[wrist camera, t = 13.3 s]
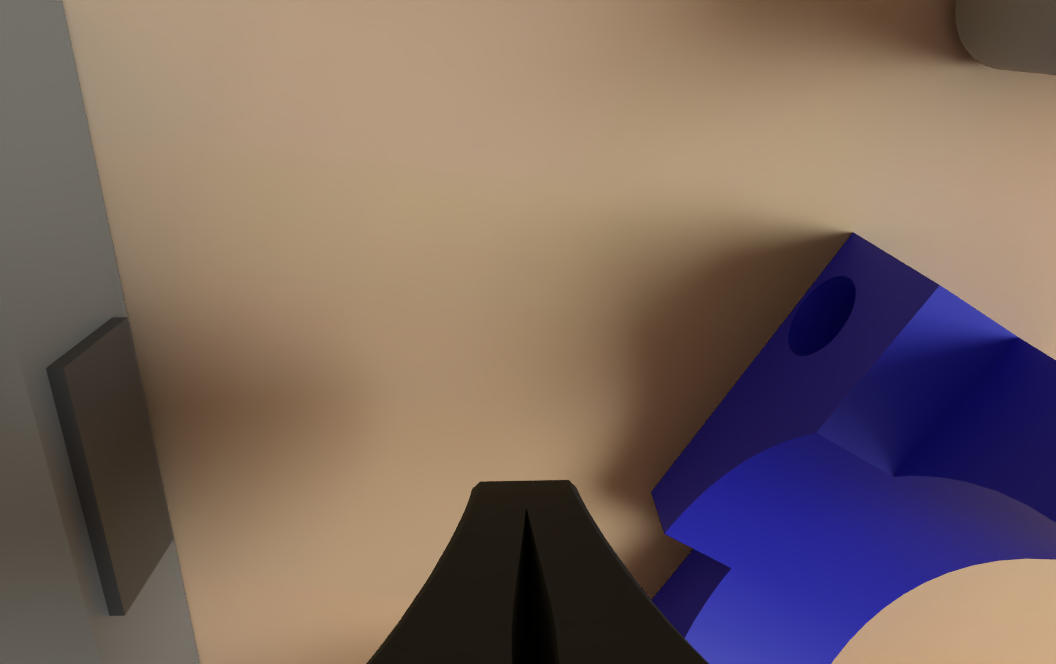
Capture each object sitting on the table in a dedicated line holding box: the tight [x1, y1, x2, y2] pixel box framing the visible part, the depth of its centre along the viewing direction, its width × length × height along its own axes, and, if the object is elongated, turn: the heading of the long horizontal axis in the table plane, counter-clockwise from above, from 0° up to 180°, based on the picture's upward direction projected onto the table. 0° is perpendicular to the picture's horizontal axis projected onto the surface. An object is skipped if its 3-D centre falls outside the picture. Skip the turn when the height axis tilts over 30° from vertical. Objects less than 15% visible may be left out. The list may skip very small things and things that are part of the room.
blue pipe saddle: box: [651, 233, 1056, 664], centre depth 13 cm, size 12×4×6 cm, turn 149°
